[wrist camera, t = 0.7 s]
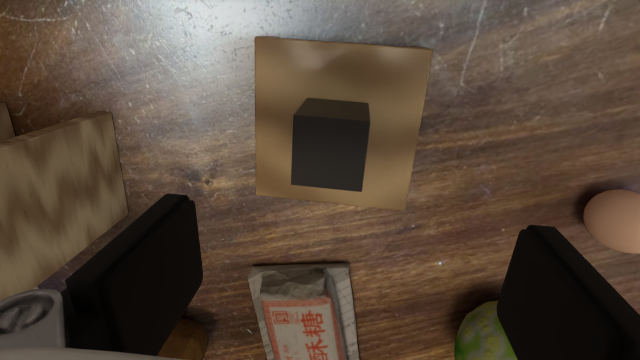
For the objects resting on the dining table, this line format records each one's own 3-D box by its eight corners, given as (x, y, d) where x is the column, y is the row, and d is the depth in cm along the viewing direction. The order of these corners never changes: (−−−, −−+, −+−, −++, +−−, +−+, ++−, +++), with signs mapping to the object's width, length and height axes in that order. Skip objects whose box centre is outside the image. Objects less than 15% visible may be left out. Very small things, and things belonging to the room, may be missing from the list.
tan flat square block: (265, 35, 27) (254, 36, 24) (426, 47, 26) (433, 49, 23) (264, 181, 32) (255, 195, 29) (401, 194, 31) (405, 211, 28)
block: (306, 97, 25) (293, 114, 20) (368, 102, 25) (370, 121, 20) (304, 155, 27) (290, 185, 22) (361, 161, 27) (361, 192, 22)
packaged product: (232, 296, 31) (347, 293, 29) (249, 263, 35) (349, 258, 34) (269, 432, 38) (364, 434, 36) (279, 389, 42) (364, 390, 41)
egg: (568, 187, 29) (613, 221, 24) (630, 172, 28) (691, 206, 23) (572, 232, 30) (616, 274, 25) (631, 221, 29) (689, 262, 24)
